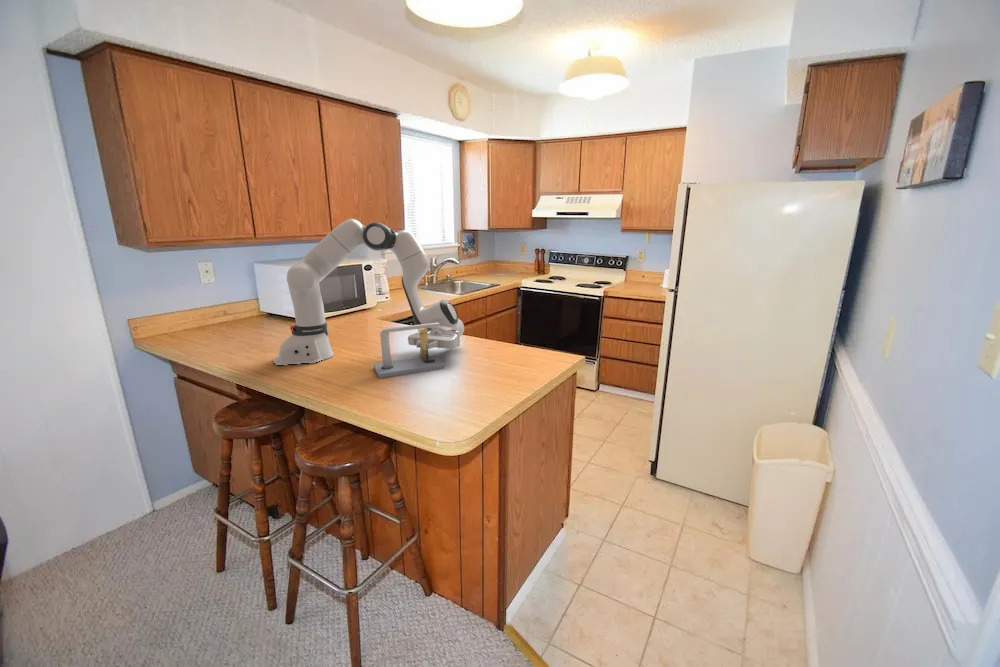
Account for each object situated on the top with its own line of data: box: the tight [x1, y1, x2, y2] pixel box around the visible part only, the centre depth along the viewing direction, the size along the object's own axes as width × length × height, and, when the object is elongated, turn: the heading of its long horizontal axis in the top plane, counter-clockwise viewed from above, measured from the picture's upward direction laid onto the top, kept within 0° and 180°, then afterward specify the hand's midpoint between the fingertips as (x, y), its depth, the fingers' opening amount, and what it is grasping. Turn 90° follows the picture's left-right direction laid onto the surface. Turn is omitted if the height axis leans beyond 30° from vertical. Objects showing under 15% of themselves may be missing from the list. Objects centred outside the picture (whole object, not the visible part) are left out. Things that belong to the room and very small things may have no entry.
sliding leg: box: [417, 328, 430, 361], centre depth 162 cm, size 3×3×12 cm
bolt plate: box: [373, 323, 445, 379], centre depth 160 cm, size 24×12×16 cm, turn 114°
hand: (422, 346), depth 162 cm, fingers closed on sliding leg, 3 cm apart
